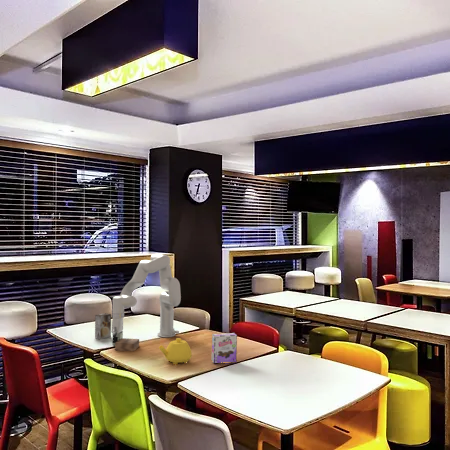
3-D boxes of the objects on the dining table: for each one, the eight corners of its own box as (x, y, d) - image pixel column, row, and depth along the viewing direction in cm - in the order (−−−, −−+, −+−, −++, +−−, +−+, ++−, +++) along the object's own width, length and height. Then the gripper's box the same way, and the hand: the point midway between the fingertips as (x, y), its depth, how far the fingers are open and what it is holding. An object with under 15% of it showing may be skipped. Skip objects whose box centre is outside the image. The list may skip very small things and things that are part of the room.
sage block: (122, 343, 303) (122, 332, 303) (119, 345, 298) (120, 334, 298) (115, 342, 304) (115, 332, 304) (112, 344, 299) (112, 334, 299)
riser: (139, 346, 297) (139, 339, 297) (133, 351, 285) (133, 343, 285) (121, 345, 298) (121, 338, 298) (115, 350, 286) (115, 342, 286)
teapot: (163, 368, 251) (164, 344, 251) (153, 361, 264) (153, 337, 265) (196, 364, 261) (196, 340, 261) (184, 357, 275) (184, 334, 275)
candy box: (213, 364, 261) (214, 335, 261) (211, 361, 267) (211, 333, 267) (236, 363, 265) (237, 334, 265) (233, 360, 270) (234, 332, 270)
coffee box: (105, 335, 323) (105, 312, 323) (111, 336, 319) (111, 314, 319) (94, 337, 316) (95, 314, 316) (100, 339, 312) (100, 315, 312)
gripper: (117, 312, 310) (116, 337, 310) (107, 317, 293) (107, 344, 293) (127, 312, 309) (127, 338, 309) (119, 318, 292) (118, 344, 292)
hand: (117, 341), depth 301 cm, fingers open, 9 cm apart
